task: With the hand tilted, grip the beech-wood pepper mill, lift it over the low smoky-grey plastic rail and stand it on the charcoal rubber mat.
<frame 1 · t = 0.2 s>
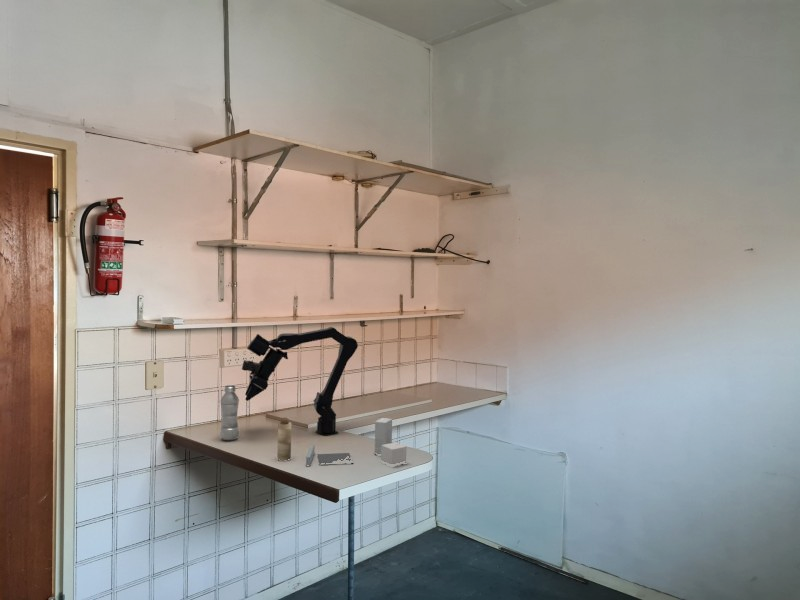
hand: (246, 397, 220), 15 cm above the worktop, tool tilted 35°, fingers open, 9 cm apart
plastic bottle: (229, 440, 216), on the worktop
rail: (310, 459, 195), on the worktop
skincare box: (383, 454, 204), on the worktop
grey cube: (393, 464, 194), on the worktop
mat: (334, 459, 196), on the worktop
mill: (284, 458, 195), on the worktop
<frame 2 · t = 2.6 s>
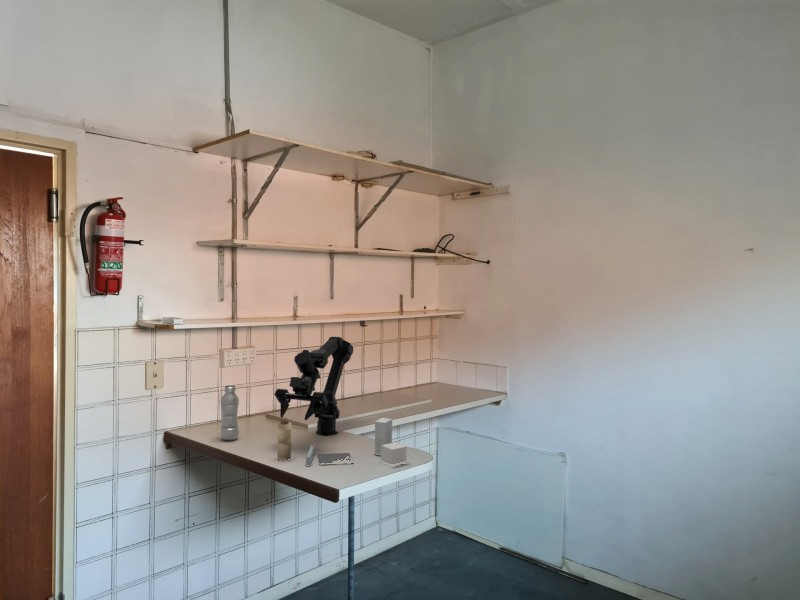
hand: (293, 418, 201), 12 cm above the worktop, tool tilted 45°, fingers open, 9 cm apart
nothing on the worktop moved.
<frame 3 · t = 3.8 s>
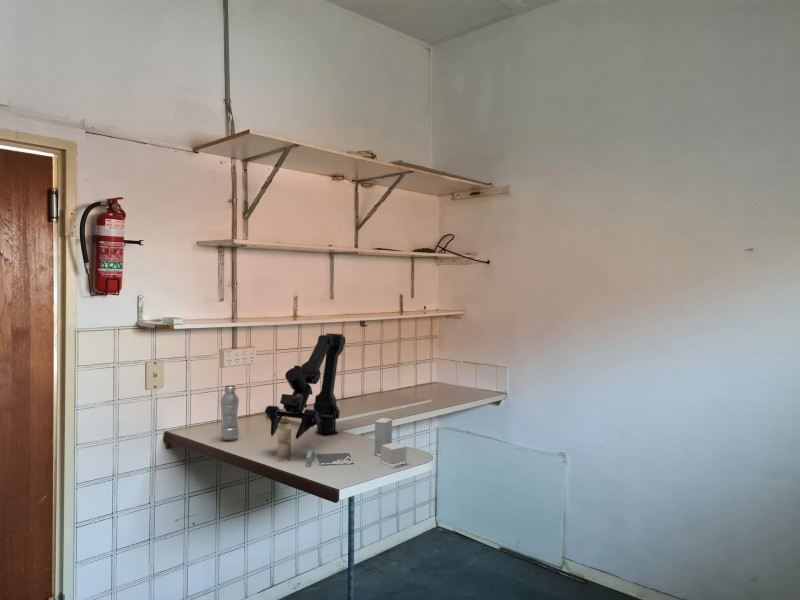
hand: (283, 436, 195), 8 cm above the worktop, tool tilted 45°, fingers open, 9 cm apart
nothing on the worktop moved.
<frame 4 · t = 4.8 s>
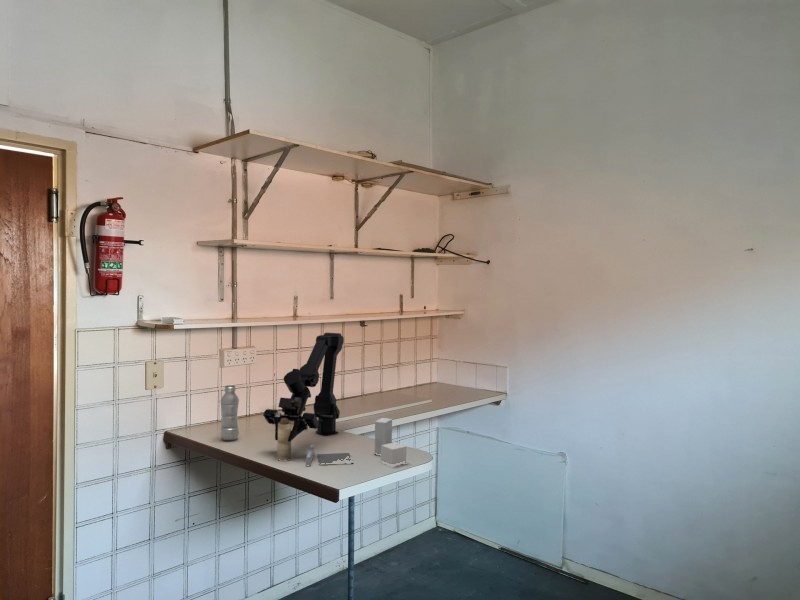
hand: (282, 440, 194), 7 cm above the worktop, tool tilted 45°, fingers closed on mill, 4 cm apart
mill: (284, 458, 195), on the worktop, touching gripper
everything else where it was.
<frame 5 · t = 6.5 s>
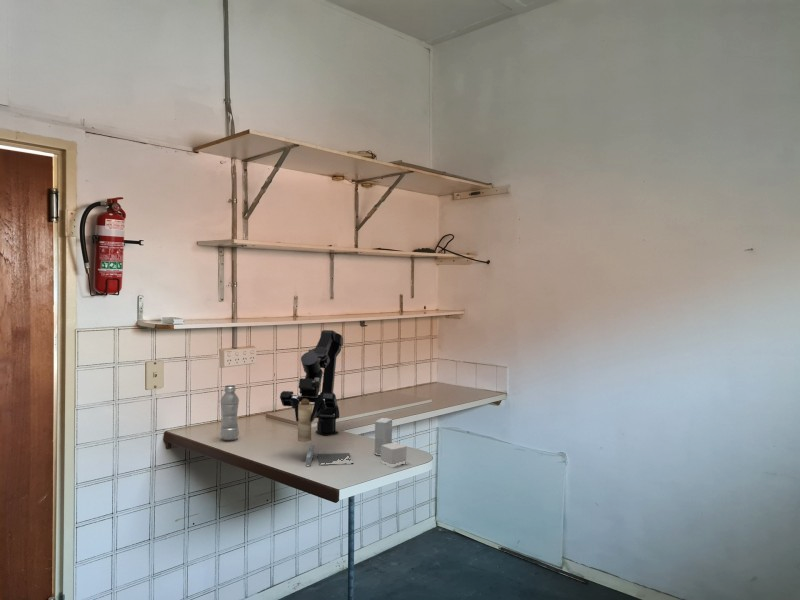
hand: (303, 421, 193), 13 cm above the worktop, tool tilted 45°, fingers closed on mill, 4 cm apart
mill: (304, 439, 194), point 7 cm above the worktop, touching gripper
everything else where it was.
when the fingers open (8 cm above the worktop, at t = 8.5 s): mill stays where it is, resting on mat.
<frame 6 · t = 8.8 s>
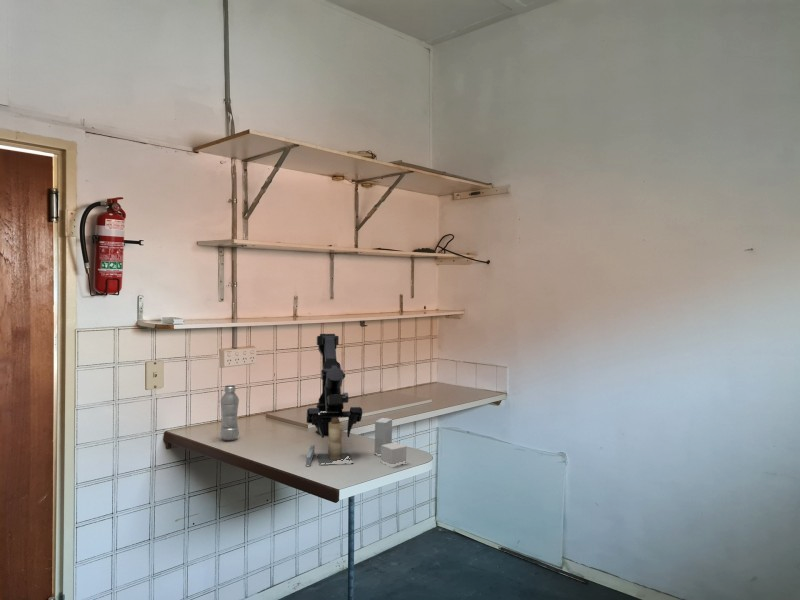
hand: (335, 437, 194), 8 cm above the worktop, tool tilted 45°, fingers open, 8 cm apart
mill: (334, 458, 196), resting on mat
everything else where it was.
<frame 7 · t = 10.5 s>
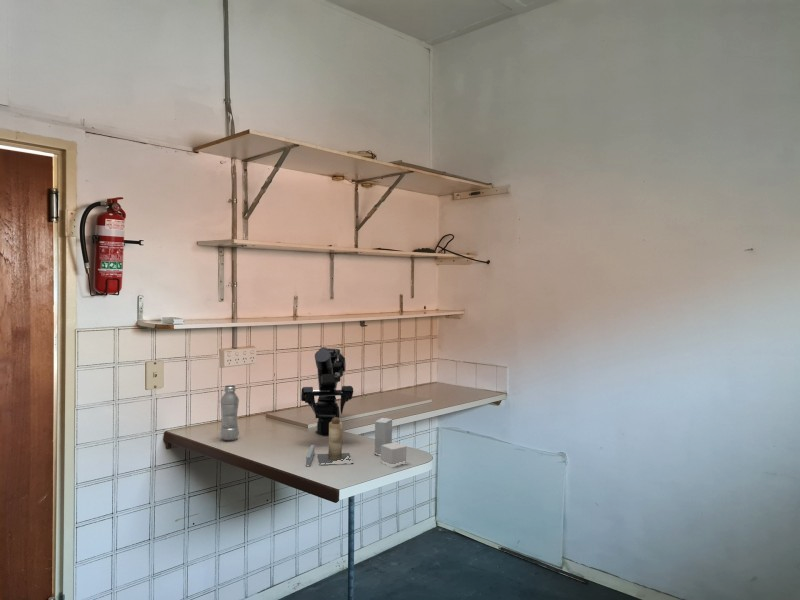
hand: (328, 413, 209), 12 cm above the worktop, tool tilted 45°, fingers open, 9 cm apart
nothing on the worktop moved.
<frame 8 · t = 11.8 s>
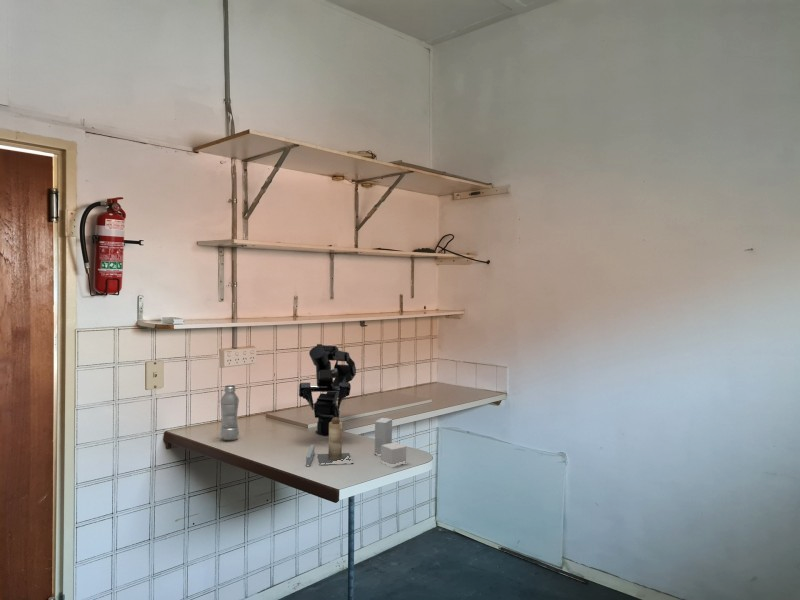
hand: (325, 409, 211), 14 cm above the worktop, tool tilted 45°, fingers open, 9 cm apart
nothing on the worktop moved.
at the end: mill inside the target area on the mat (0.0 cm from its centre), point 0.4 cm above the mat's base; mill tilted 1°; the gripper is holding nothing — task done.
